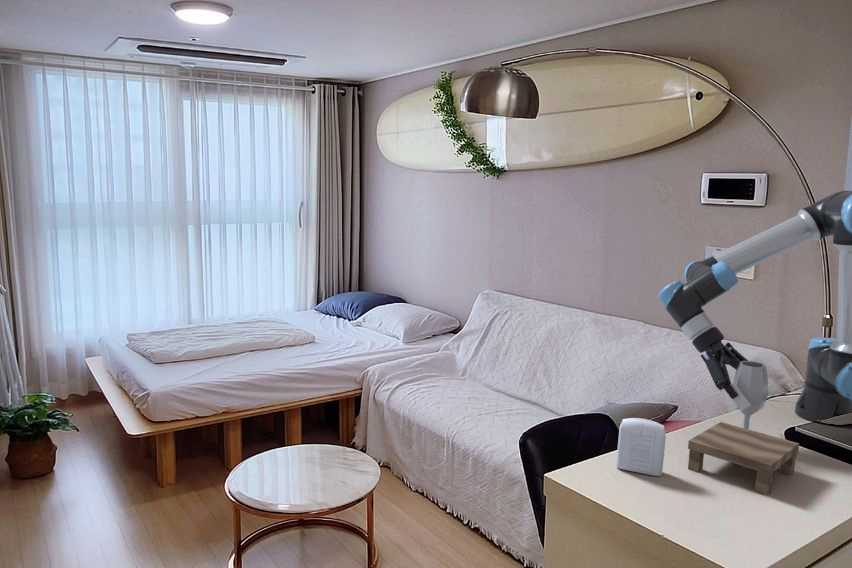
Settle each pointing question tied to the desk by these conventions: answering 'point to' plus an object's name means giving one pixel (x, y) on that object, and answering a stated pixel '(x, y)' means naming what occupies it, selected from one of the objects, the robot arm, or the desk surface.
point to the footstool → (744, 452)
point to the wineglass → (752, 387)
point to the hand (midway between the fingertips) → (756, 402)
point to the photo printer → (641, 446)
